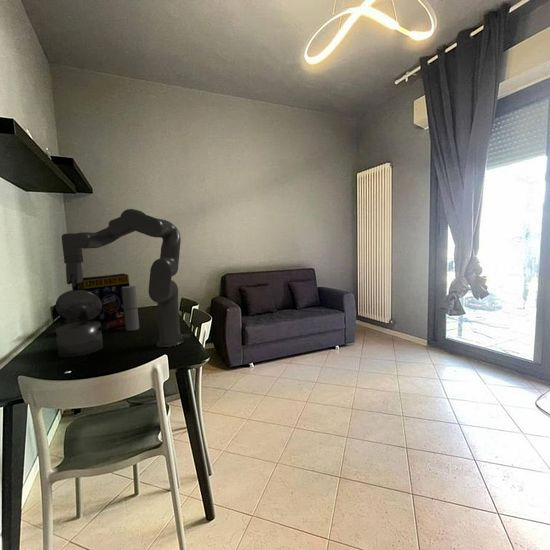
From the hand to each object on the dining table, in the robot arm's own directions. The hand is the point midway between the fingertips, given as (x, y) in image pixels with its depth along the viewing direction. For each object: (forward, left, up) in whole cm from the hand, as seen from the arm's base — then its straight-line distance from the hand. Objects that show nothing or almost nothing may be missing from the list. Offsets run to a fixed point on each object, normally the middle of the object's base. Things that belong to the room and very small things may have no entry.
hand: (77, 297), depth 148 cm
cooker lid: (0, 0, -4) cm, 5 cm away
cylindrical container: (-20, -25, -25) cm, 41 cm away
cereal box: (-6, -37, -25) cm, 45 cm away
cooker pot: (0, +5, -25) cm, 25 cm away
